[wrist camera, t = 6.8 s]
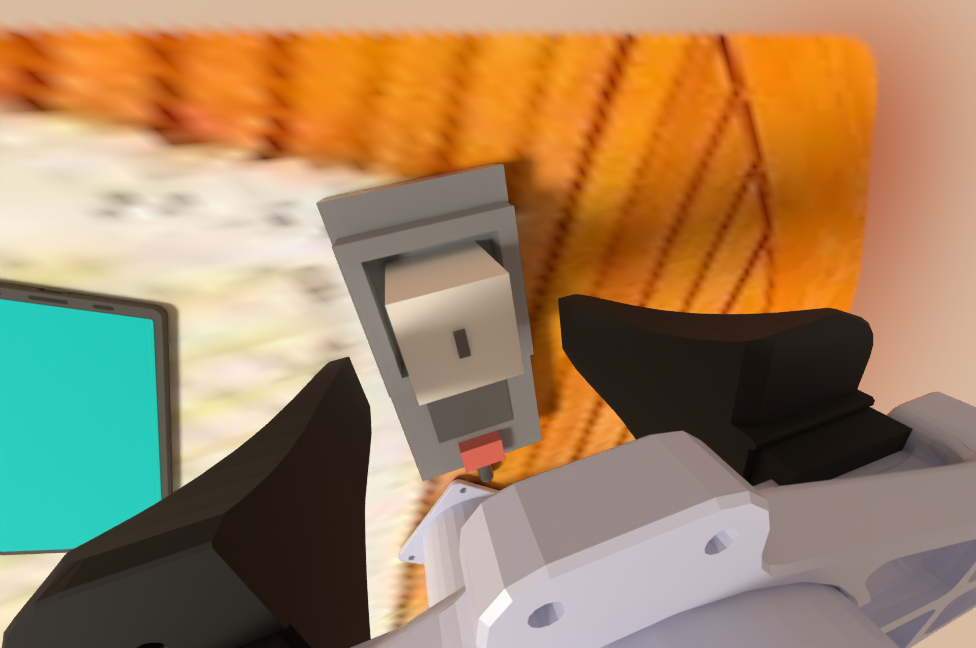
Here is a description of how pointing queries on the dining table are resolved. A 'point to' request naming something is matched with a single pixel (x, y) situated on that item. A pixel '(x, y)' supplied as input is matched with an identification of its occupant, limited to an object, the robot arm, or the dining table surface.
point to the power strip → (361, 257)
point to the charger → (453, 320)
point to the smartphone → (79, 416)
